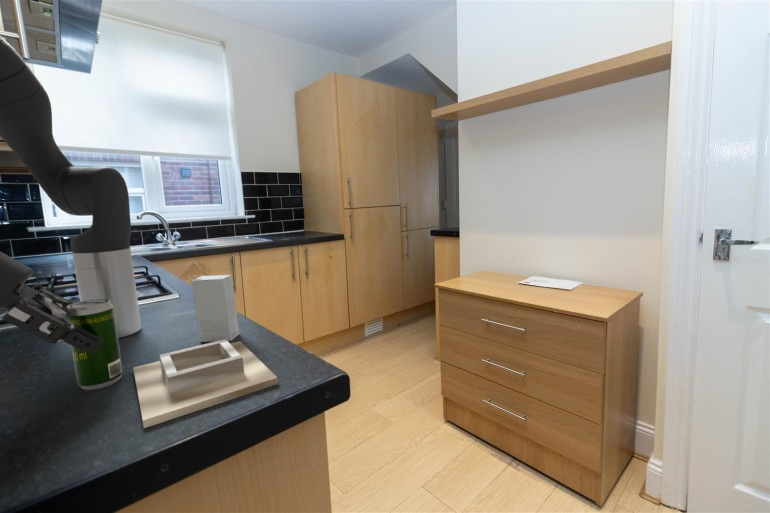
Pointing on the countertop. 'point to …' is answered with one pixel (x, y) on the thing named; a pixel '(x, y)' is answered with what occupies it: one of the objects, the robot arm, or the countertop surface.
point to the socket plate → (198, 380)
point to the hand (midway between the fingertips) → (99, 338)
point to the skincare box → (215, 308)
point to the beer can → (107, 358)
